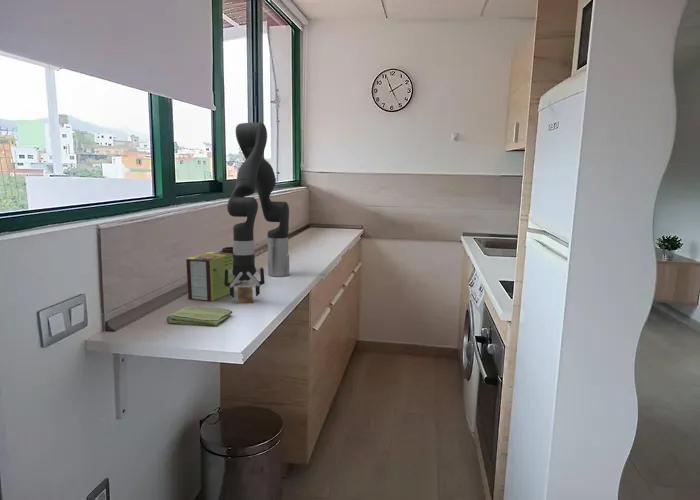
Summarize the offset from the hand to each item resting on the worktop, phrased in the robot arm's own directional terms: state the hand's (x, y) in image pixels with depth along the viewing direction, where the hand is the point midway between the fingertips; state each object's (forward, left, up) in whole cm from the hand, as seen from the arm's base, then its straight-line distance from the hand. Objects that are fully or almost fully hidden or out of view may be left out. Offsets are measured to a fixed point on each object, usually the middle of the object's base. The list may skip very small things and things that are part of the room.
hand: (244, 296), depth 182 cm
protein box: (+12, -12, -2) cm, 17 cm away
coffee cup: (+4, -30, -2) cm, 31 cm away
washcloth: (+15, +18, -3) cm, 24 cm away
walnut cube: (0, 0, -2) cm, 2 cm away
